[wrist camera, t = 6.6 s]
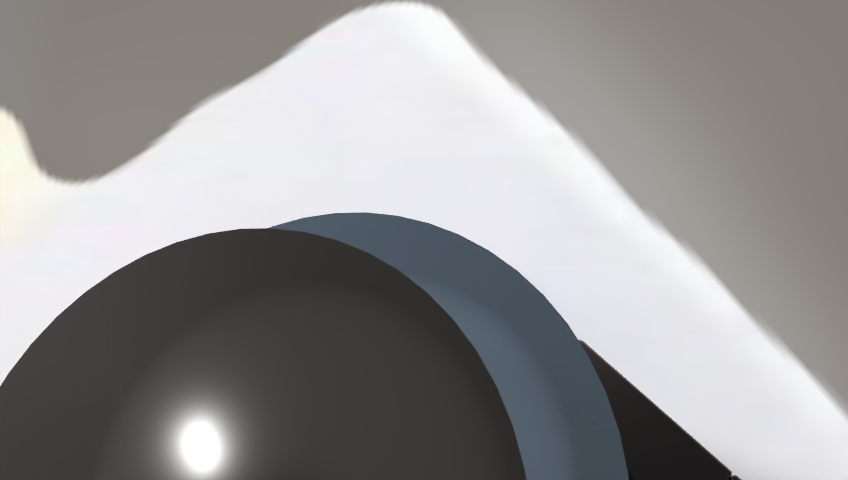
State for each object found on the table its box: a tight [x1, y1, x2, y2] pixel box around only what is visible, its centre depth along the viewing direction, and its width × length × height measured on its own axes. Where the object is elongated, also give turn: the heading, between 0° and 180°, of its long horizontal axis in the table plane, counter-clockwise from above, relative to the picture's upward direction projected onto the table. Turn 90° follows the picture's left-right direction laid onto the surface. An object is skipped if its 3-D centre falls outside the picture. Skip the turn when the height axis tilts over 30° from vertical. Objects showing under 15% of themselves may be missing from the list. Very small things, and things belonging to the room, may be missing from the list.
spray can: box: [0, 213, 629, 480], centre depth 9 cm, size 5×5×13 cm
